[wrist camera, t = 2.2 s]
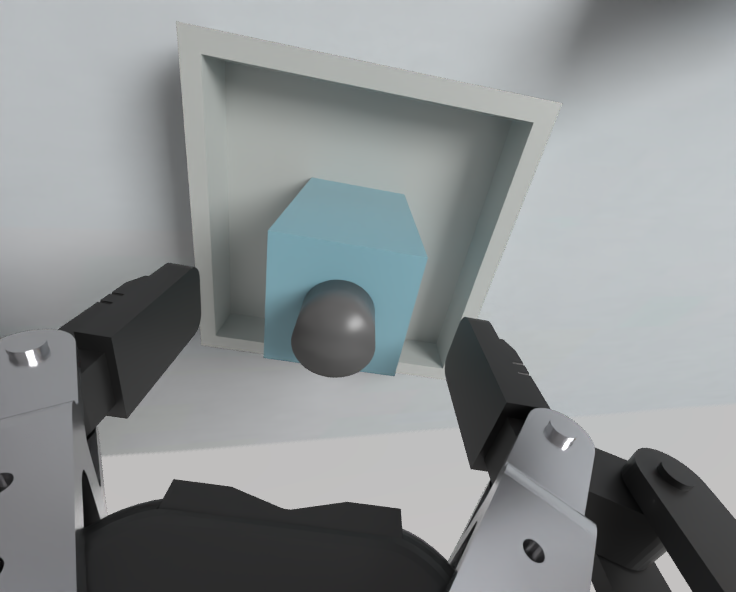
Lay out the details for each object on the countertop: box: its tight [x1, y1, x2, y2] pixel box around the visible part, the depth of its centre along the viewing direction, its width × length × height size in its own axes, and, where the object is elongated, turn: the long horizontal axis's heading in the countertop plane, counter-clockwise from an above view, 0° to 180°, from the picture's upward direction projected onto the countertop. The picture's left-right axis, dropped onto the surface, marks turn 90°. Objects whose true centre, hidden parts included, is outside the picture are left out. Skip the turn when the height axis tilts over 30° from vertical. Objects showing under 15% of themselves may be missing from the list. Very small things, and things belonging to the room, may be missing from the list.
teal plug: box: [264, 178, 428, 377], centre depth 12 cm, size 4×4×8 cm
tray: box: [176, 21, 563, 380], centre depth 15 cm, size 12×12×3 cm
